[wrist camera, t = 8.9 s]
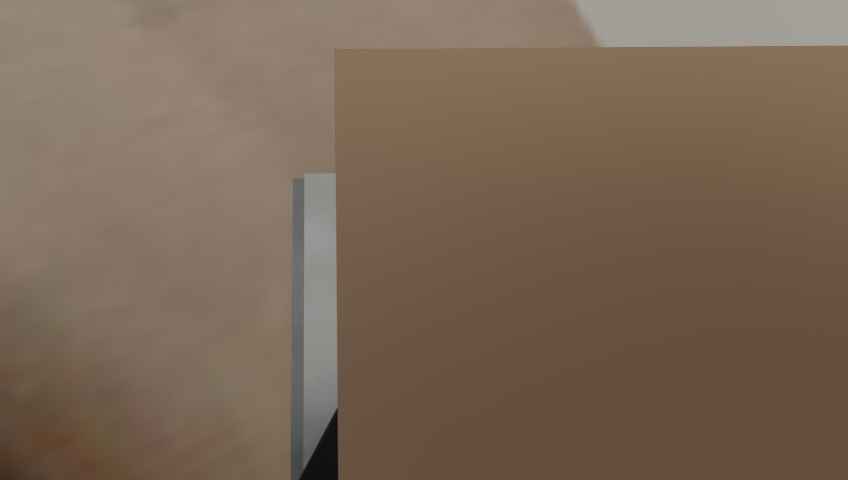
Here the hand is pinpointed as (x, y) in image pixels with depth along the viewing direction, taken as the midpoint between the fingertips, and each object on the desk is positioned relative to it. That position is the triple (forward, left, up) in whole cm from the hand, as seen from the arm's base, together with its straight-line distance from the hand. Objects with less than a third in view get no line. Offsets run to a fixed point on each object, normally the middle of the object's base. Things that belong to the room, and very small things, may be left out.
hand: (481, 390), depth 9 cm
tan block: (0, 0, -7) cm, 7 cm away
